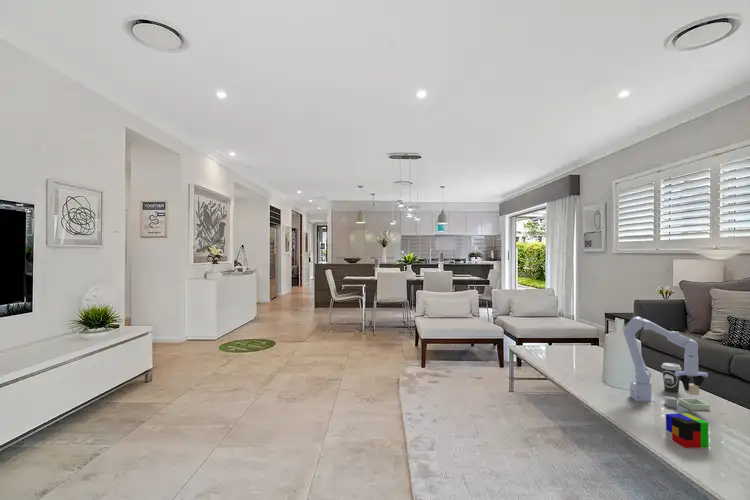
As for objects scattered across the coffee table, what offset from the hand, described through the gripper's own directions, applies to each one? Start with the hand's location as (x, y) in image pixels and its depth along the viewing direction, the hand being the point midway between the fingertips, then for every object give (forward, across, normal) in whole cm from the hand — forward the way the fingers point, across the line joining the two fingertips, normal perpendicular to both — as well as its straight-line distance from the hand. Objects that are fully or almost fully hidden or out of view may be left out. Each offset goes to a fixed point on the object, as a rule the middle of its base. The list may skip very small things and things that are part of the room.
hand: (691, 390), depth 210 cm
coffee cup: (+9, +6, +27) cm, 30 cm away
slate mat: (+9, -8, -4) cm, 13 cm away
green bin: (+9, +2, +1) cm, 9 cm away
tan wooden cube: (+2, 0, 0) cm, 2 cm away
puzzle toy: (+9, -28, -41) cm, 50 cm away
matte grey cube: (+8, -9, +1) cm, 13 cm away
